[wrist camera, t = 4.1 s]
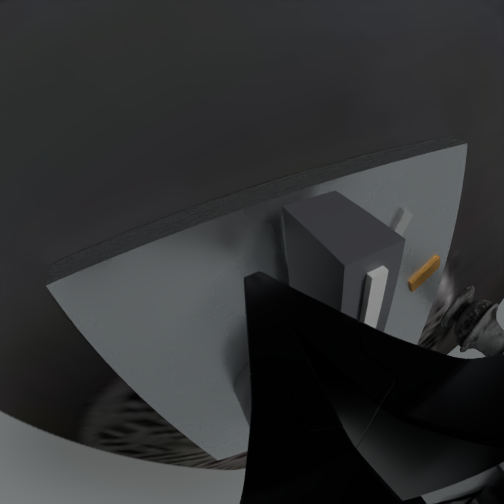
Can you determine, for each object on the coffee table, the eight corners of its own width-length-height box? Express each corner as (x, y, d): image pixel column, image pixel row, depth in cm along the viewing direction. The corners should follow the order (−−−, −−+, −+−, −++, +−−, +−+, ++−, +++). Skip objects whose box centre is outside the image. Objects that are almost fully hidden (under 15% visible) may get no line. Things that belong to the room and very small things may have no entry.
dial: (358, 370, 18) (388, 412, 15) (248, 421, 16) (271, 472, 13) (392, 166, 10) (475, 211, 7) (170, 230, 8) (199, 330, 5)
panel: (398, 359, 23) (407, 369, 22) (213, 448, 20) (219, 462, 19) (449, 136, 12) (470, 144, 10) (52, 263, 8) (44, 289, 7)
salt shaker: (433, 339, 25) (501, 417, 16) (445, 304, 22) (530, 393, 12) (467, 309, 26) (532, 377, 16) (480, 272, 22) (559, 347, 13)
